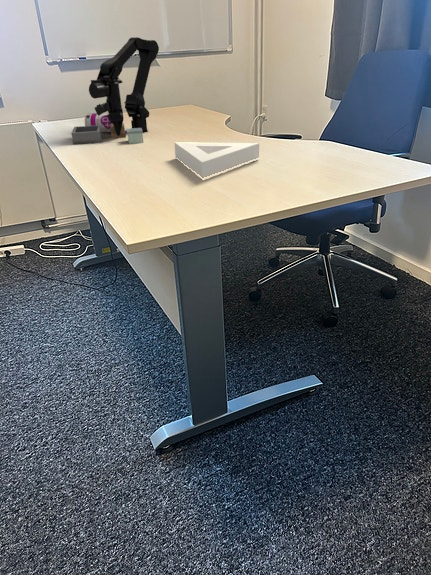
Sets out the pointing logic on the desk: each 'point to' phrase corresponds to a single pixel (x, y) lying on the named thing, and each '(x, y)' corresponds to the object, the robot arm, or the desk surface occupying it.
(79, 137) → the tote
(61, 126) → the desk surface
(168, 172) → the desk surface
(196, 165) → the triangle block
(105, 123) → the supplement can
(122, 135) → the walnut block
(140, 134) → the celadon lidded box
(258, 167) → the desk surface
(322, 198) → the desk surface
